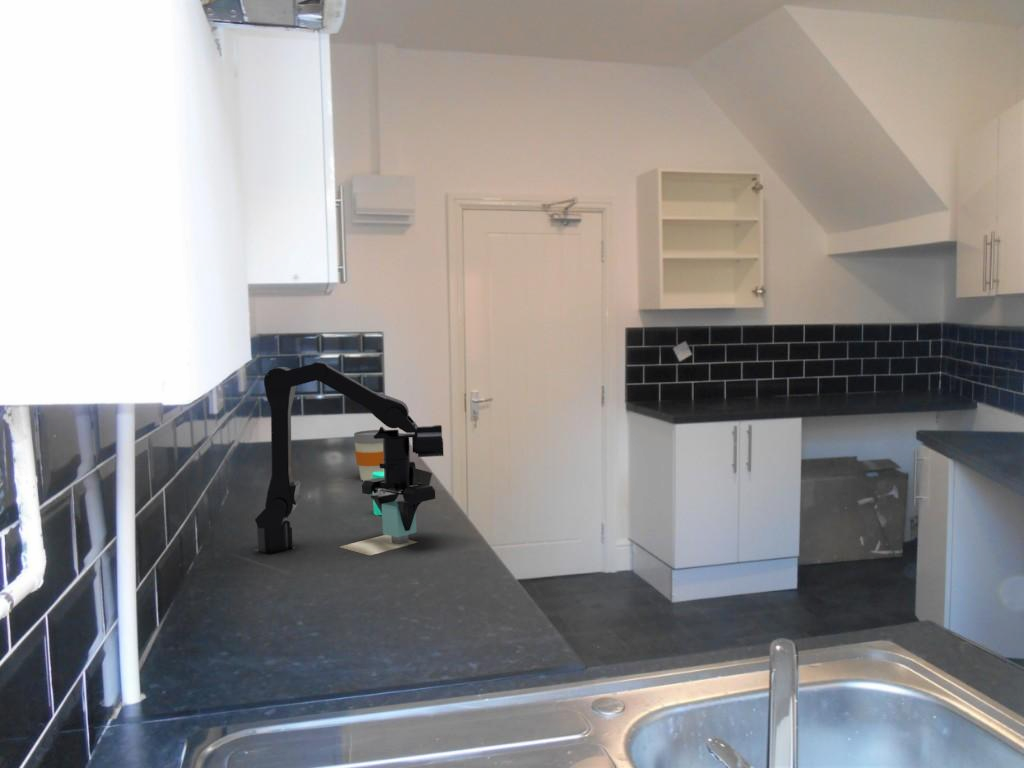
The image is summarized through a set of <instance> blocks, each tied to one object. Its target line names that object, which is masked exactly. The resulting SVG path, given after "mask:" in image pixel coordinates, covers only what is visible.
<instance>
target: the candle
mask: <svg viewBox="0 0 1024 768" xmlns="http://www.w3.org/2000/svg"><path fill="white" fill-rule="evenodd" d="M380 477H381V478H384V469H383V472H373V473H372V479H375V478H380ZM373 495H374V491H373V492H372V496H373ZM397 500H398V498H397V499H396V500H395V501H397ZM372 503H373V504H372V505H373V514H375V516H378V515H382V513H381V511H380V509H379V508H378V506H377V505H376V503H375V501H374V500H373V499H372Z"/></svg>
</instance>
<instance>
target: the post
mask: <svg viewBox="0 0 1024 768" xmlns="http://www.w3.org/2000/svg"><path fill="white" fill-rule="evenodd" d="M409 540H410V539H409V535H405V536H401V537H394V536H392V543H395V544H399V545H400V544H403V543H407V542H409Z"/></svg>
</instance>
